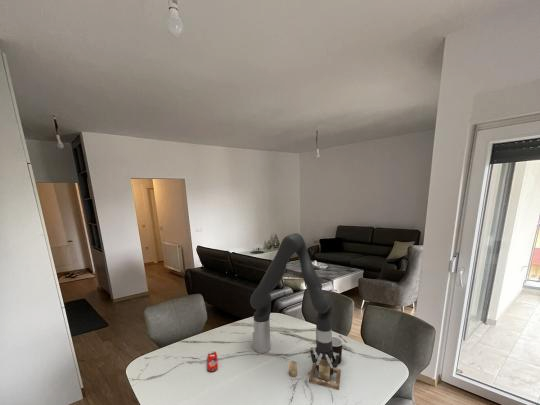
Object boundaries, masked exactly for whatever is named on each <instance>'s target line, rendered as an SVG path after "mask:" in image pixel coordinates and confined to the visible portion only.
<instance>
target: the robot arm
mask: <svg viewBox="0 0 540 405" xmlns="http://www.w3.org/2000/svg"><path fill="white" fill-rule="evenodd" d="M281 240H282V241H281V242H280V245H279V247H278V250H277V252H276V255H275V256H274V258H273V259H272V260H271V263H270V265H269V266H268V267H267V269H266V271H265V274H263V277H262V279H261V280H260V282H259V284H258V286H256V288H255V290H254V291H253V293H251V295H250V298H249V303H250V306H251V308H253V309H254V310H256V311H254V313H253V332H252V350H253V351H255V352H256V353H258V354H265V353H268V352H269V351H271V324H270V316H271V312H272V298H271V291H273V289H275V288H276V287H277V286H278V285H279V283H280V282H281V280H282V279H283V278H284V277H285V274H286V270H287V264H288V262H289V261H290V259H291V257H292V256H293V255H294V254H296V255H297V257H298V260H299V265H300V270H301V275H302V276H301V277H302V279H303V281H304V284H305V286H306V287H307V290H308V292H309V296H310V300H311V301H310V302H311V304H312V306H313V308H314V310H315V311H316V312H317V315H316V318H315V327H316V328H315V343H316V344H315V345H316V347H315V348H313V347H310V350H309V354H310V358H311V361H312V364H313V363H315V364H316V369H315V371H317V373H318V374H319V363H320V360H321V359H322V360H327V361H328V363H329V365H330V377H331V376H333V375H334V373H333V368H338V365H339V364H338V360H339V353H335V352H333V349H332V337H333V332H332V320H331V319H332V313H333V299H332V297H331V296H330V295H329V294H328V293H323V290H322V289H323V284H322V282H321V279H320V278H319V276H318V274H317V272H316V270H315V268H314V265H313V263H312V260H311V258H310V254H309V251H308V247H307V245H306V242H305V240H304V237H303V236H302V235H301V234H300V233H298V232H297V233H292V234H288V235H286V236H284V237H283V239H281ZM316 353H317V355H318V359H316ZM333 355H334V358H335V363H333V361H332V358H331V357H332V356H333Z"/></svg>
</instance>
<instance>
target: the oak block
mask: <svg viewBox="0 0 540 405" xmlns="http://www.w3.org/2000/svg"><path fill="white" fill-rule="evenodd" d="M318 379H320V380H325V381H329V382H331V381H330V380H331V375H330V365H329V363H328V361H327V360H322V359H321V360H320V362H319V373H318Z"/></svg>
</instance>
